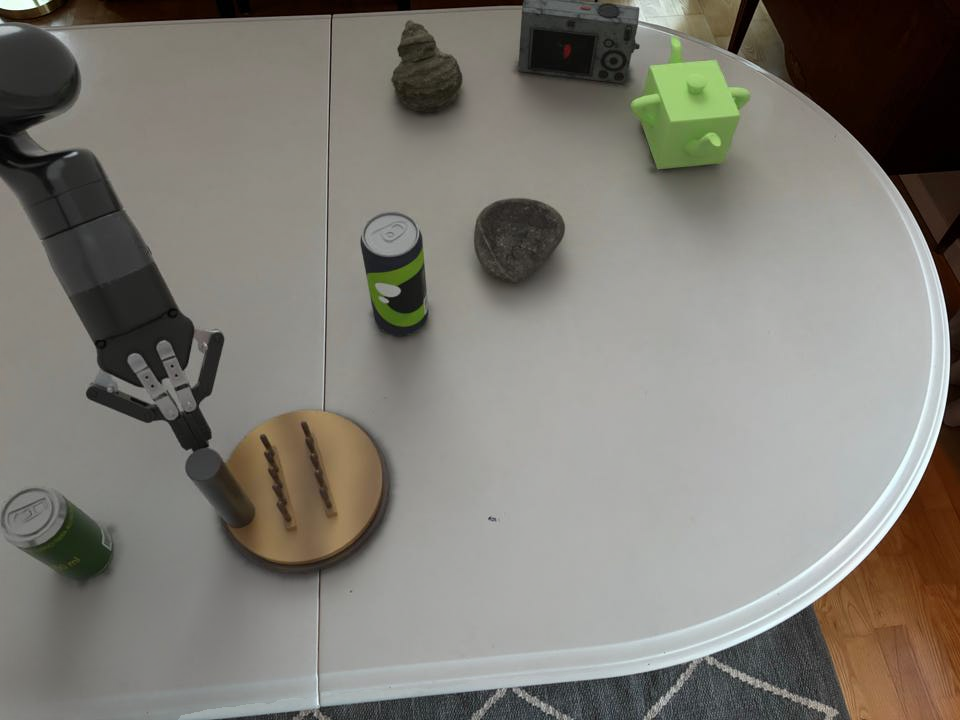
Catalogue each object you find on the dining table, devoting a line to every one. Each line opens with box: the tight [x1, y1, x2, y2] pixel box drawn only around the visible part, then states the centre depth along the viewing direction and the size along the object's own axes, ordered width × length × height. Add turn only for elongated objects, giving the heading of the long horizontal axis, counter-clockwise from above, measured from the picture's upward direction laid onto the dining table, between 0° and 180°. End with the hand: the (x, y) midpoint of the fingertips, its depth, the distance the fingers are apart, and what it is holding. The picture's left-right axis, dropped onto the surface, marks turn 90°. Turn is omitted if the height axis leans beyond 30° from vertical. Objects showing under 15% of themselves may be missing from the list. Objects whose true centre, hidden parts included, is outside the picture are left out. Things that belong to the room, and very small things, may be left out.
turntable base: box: [219, 413, 390, 575], centre depth 80 cm, size 17×17×1 cm
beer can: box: [0, 484, 114, 581], centre depth 72 cm, size 5×5×12 cm
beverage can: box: [359, 210, 429, 337], centre depth 85 cm, size 6×6×15 cm
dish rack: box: [184, 409, 383, 565], centre depth 74 cm, size 16×16×13 cm
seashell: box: [390, 19, 463, 114], centre depth 106 cm, size 11×12×10 cm
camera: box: [517, 0, 641, 84], centre depth 109 cm, size 16×4×10 cm, turn 81°
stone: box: [473, 197, 566, 283], centre depth 94 cm, size 11×11×5 cm
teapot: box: [630, 35, 751, 170], centre depth 101 cm, size 15×13×11 cm
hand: (202, 447), depth 73 cm, fingers closed
